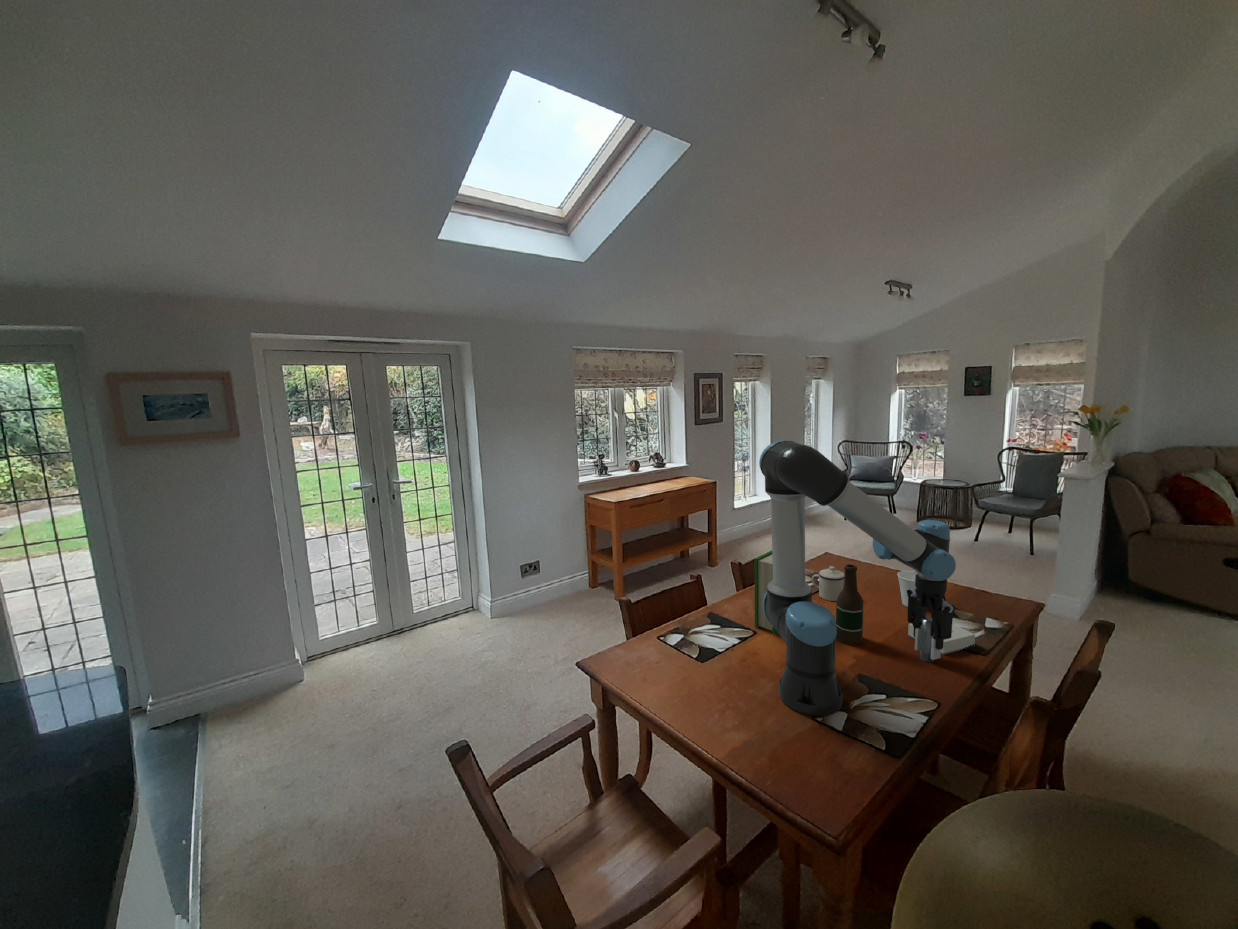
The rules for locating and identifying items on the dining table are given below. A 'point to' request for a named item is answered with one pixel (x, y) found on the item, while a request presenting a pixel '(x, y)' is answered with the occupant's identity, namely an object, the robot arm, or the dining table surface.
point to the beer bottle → (849, 610)
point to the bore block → (952, 639)
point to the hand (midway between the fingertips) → (927, 653)
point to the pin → (926, 639)
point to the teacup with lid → (829, 583)
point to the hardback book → (762, 588)
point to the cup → (906, 584)
